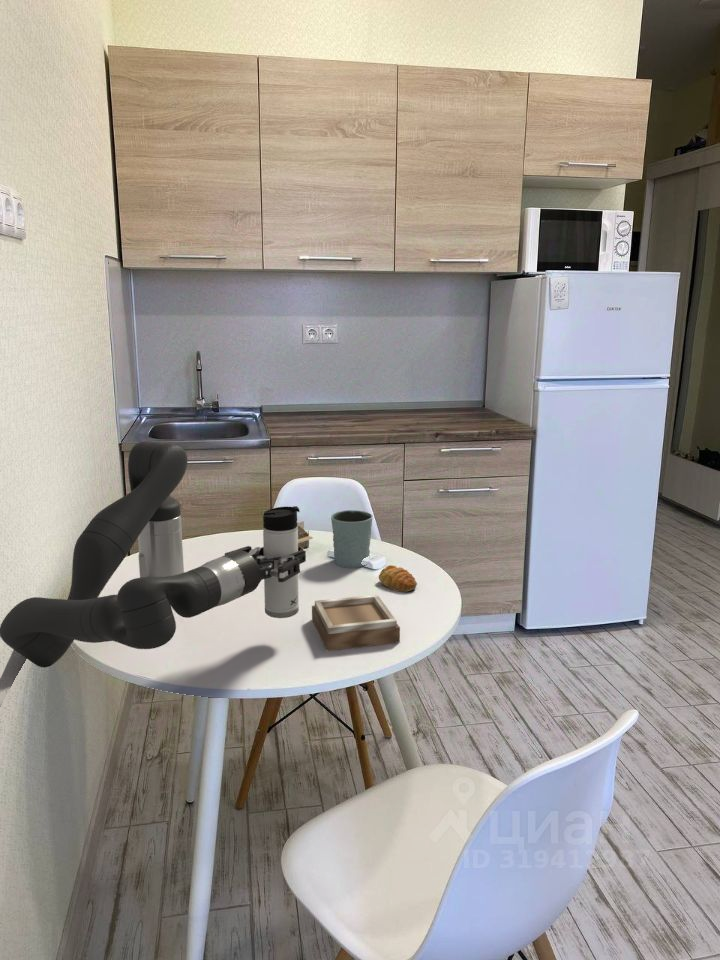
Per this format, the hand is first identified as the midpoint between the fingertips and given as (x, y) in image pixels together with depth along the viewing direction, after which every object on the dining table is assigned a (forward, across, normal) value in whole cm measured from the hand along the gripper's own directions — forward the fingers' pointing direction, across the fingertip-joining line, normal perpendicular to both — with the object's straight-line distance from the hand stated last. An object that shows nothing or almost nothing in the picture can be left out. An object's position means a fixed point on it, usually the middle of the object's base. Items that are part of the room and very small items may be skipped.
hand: (289, 551), depth 132 cm
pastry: (+34, +3, -17) cm, 38 cm away
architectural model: (+41, -31, -18) cm, 54 cm away
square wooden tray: (+9, +9, -17) cm, 21 cm away
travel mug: (-2, 0, -11) cm, 12 cm away
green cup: (+40, -14, -17) cm, 46 cm away
